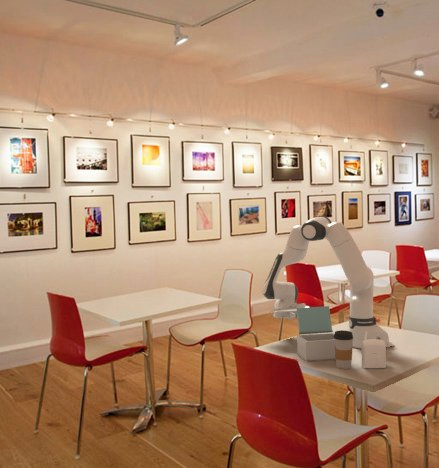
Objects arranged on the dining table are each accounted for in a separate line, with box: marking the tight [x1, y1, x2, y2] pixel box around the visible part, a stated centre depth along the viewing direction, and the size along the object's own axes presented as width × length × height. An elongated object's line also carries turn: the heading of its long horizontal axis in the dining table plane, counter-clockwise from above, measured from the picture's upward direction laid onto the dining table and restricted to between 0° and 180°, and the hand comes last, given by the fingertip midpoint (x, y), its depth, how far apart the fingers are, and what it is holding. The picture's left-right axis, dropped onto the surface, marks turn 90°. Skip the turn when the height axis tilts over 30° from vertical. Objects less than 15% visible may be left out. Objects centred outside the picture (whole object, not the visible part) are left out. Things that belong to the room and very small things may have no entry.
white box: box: [296, 332, 336, 362], centre depth 247 cm, size 18×12×9 cm
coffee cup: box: [334, 330, 354, 370], centre depth 231 cm, size 8×8×15 cm
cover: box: [296, 305, 334, 335], centre depth 253 cm, size 16×12×1 cm
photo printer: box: [360, 339, 387, 369], centre depth 229 cm, size 10×4×12 cm, turn 86°
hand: (297, 315), depth 264 cm, fingers closed
